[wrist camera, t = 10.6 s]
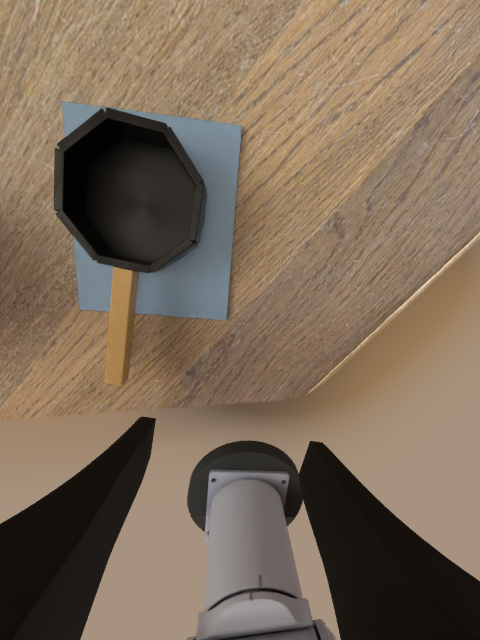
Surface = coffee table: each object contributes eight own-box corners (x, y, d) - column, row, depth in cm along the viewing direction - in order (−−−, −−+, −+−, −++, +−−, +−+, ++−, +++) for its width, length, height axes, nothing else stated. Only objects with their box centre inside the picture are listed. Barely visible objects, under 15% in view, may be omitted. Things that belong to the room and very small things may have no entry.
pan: (88, 123, 15) (55, 92, 12) (215, 156, 16) (212, 135, 13) (77, 357, 19) (50, 376, 16) (179, 374, 20) (171, 394, 17)
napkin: (226, 319, 19) (226, 320, 19) (81, 308, 18) (78, 309, 18) (241, 127, 16) (242, 124, 16) (64, 103, 15) (61, 100, 15)
